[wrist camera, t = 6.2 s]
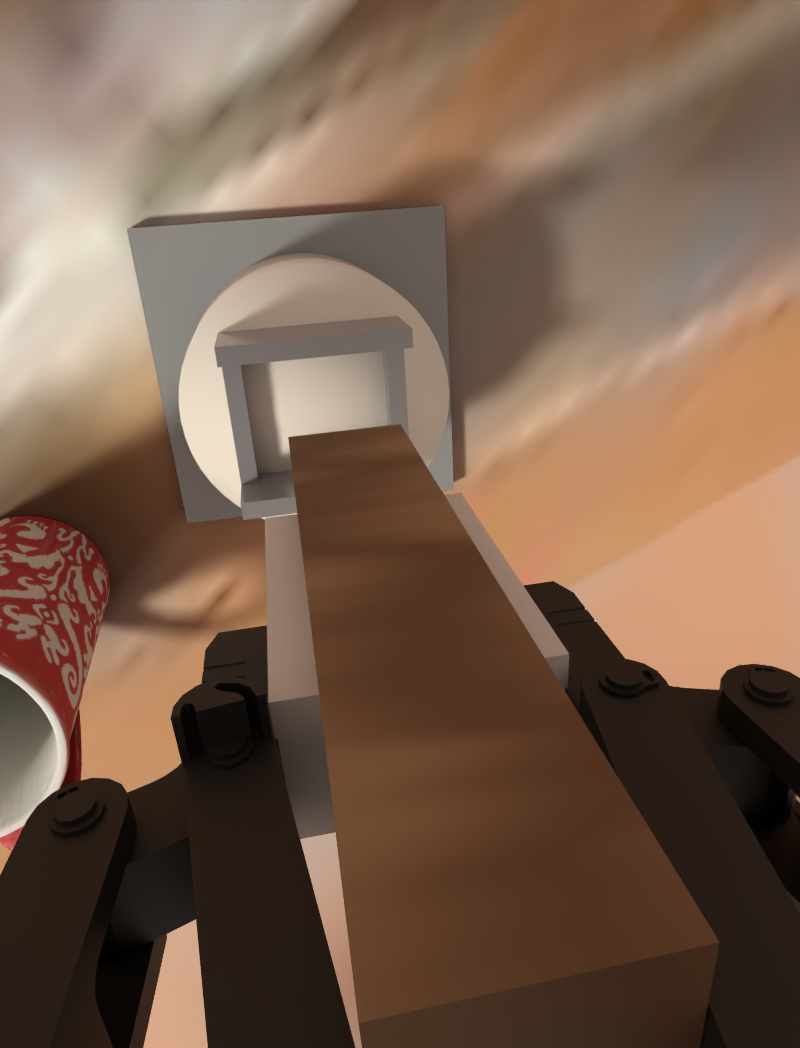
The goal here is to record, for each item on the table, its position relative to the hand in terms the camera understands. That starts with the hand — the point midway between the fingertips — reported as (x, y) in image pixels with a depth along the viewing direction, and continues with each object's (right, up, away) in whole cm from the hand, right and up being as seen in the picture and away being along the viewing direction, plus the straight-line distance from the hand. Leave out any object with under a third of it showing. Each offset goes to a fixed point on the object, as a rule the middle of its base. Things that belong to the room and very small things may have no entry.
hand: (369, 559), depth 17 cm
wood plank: (-1, +1, +3) cm, 4 cm away
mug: (-18, -3, +22) cm, 28 cm away
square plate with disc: (-4, +8, +19) cm, 21 cm away
